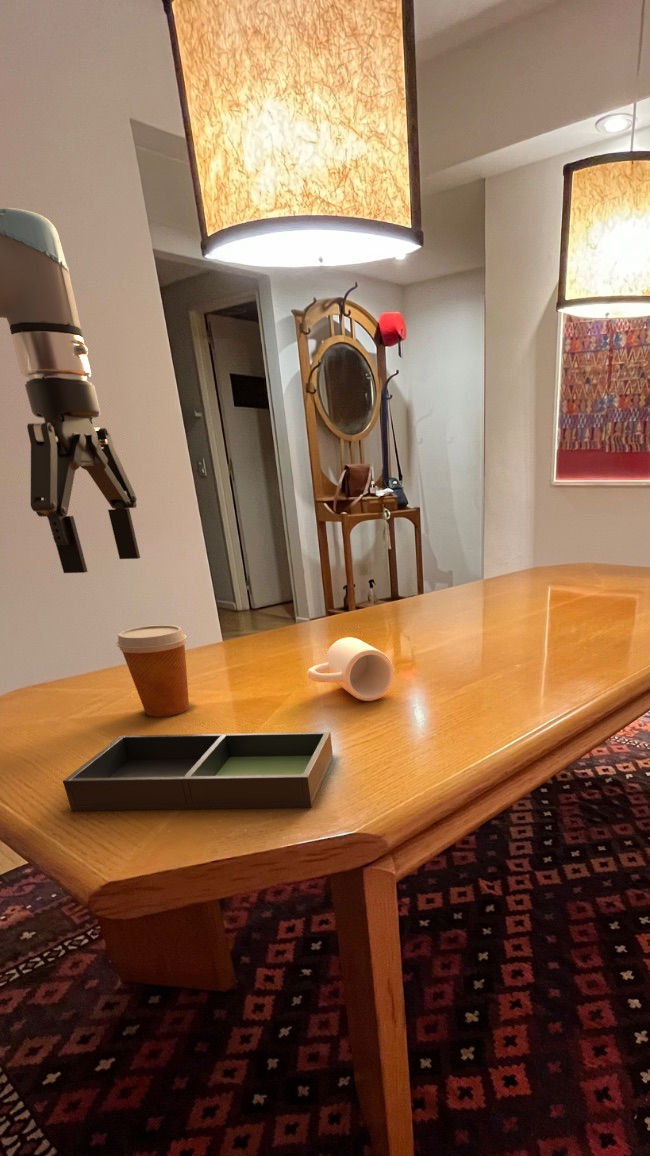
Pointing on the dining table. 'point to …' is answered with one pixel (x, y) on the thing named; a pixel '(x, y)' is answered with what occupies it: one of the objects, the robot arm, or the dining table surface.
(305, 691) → the dining table surface
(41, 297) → the robot arm
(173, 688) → the disposable coffee cup
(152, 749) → the caddy
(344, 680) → the mug
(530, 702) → the dining table surface
